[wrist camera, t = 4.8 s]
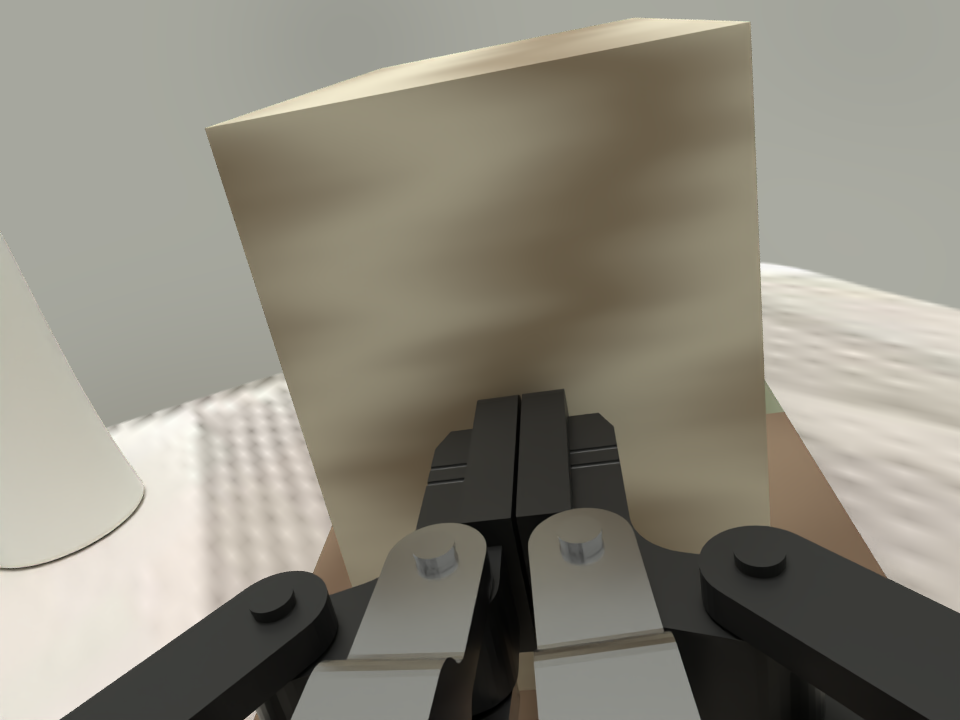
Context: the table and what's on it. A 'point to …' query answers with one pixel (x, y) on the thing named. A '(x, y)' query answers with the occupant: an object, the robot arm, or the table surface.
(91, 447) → the cosmetic bottle
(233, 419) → the table surface
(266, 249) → the maple block
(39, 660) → the table surface
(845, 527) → the trap box
